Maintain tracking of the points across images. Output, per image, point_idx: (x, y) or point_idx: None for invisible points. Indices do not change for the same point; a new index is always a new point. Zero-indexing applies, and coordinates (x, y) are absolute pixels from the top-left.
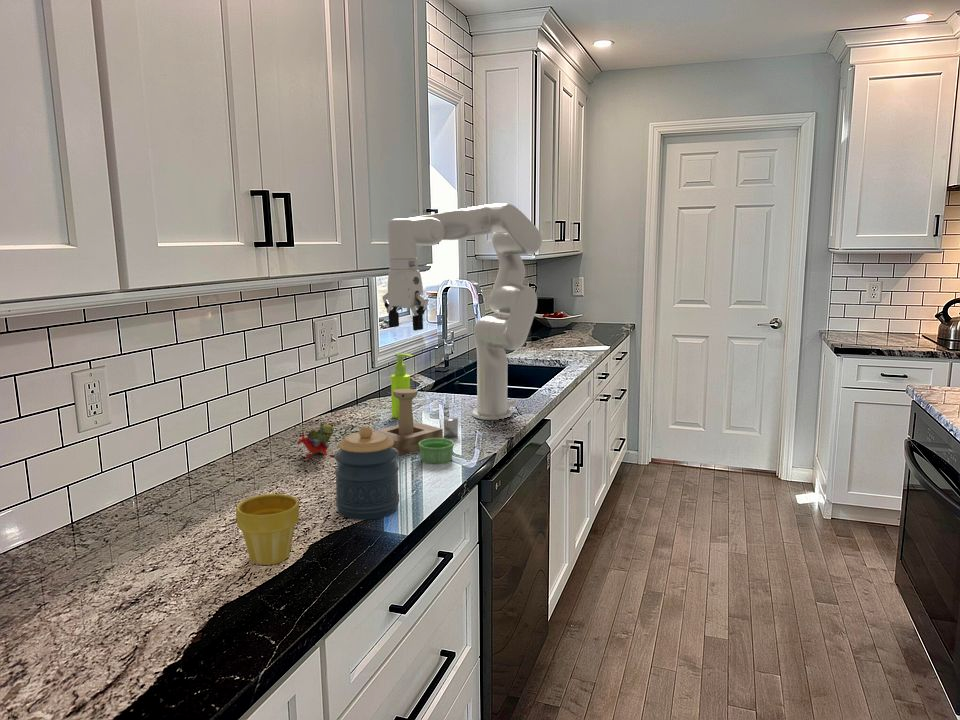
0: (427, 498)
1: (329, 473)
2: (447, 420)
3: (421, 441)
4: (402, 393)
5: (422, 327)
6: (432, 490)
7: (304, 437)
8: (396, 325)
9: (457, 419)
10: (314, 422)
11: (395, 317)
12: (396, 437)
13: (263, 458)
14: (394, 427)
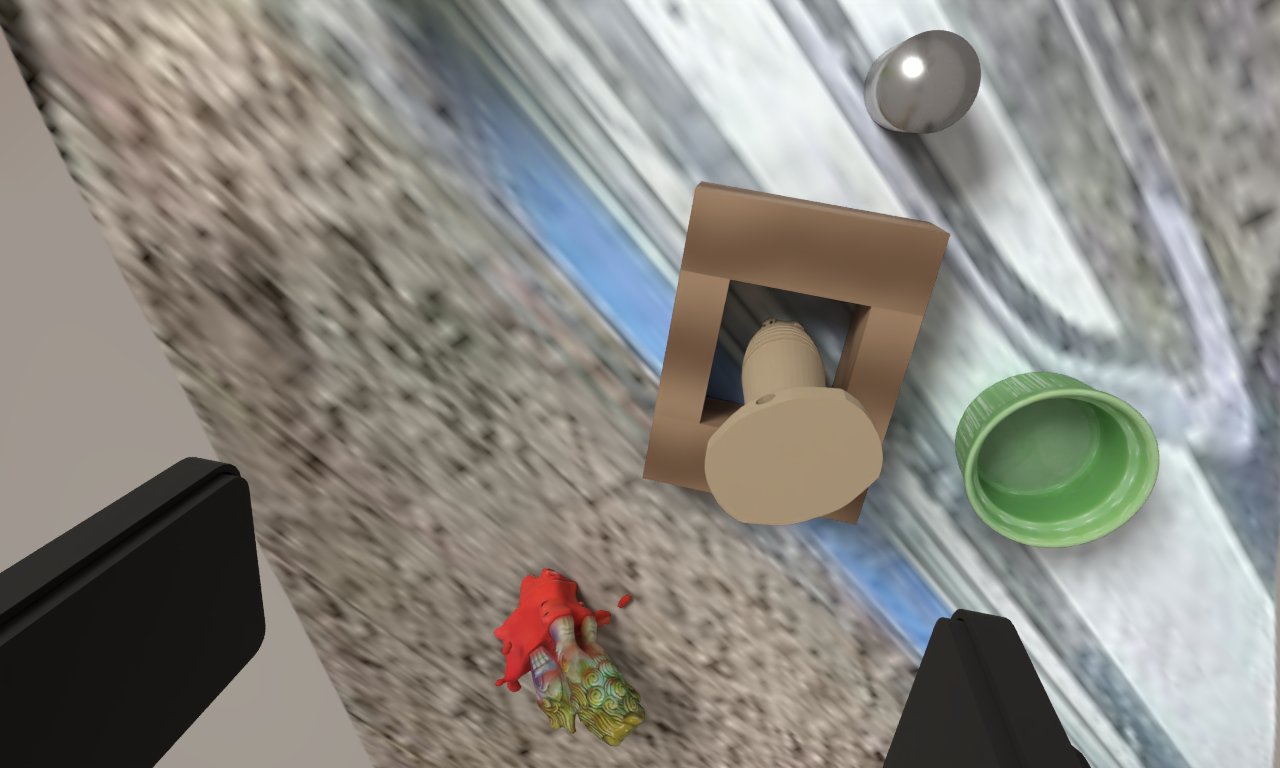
0: (1207, 762)
1: (747, 717)
2: (923, 119)
3: (971, 481)
4: (812, 516)
5: (1011, 649)
6: (1191, 707)
7: (512, 677)
8: (239, 538)
9: (974, 54)
10: (171, 291)
11: (92, 682)
12: None
13: (451, 698)
14: (691, 352)
